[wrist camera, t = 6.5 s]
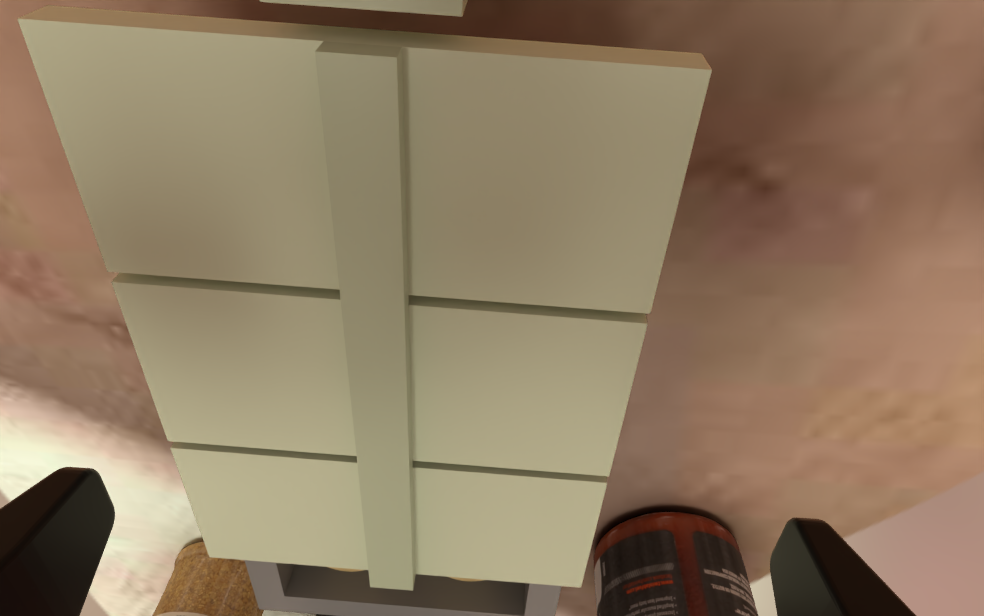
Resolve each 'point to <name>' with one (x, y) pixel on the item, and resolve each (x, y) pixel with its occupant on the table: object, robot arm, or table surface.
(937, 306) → the table surface
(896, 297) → the table surface
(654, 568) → the supplement bottle
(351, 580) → the tub
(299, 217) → the lid
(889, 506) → the table surface
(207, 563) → the sprinkles bottle
